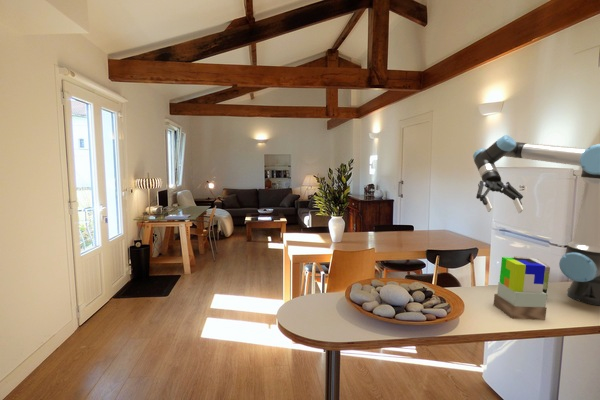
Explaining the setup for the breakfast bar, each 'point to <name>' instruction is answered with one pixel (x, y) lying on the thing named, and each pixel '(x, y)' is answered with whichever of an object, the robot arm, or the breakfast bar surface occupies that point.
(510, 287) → the puzzle toy
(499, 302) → the walnut base slab
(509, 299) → the grey-green top slab
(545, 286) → the tea box
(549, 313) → the breakfast bar surface
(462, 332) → the breakfast bar surface
